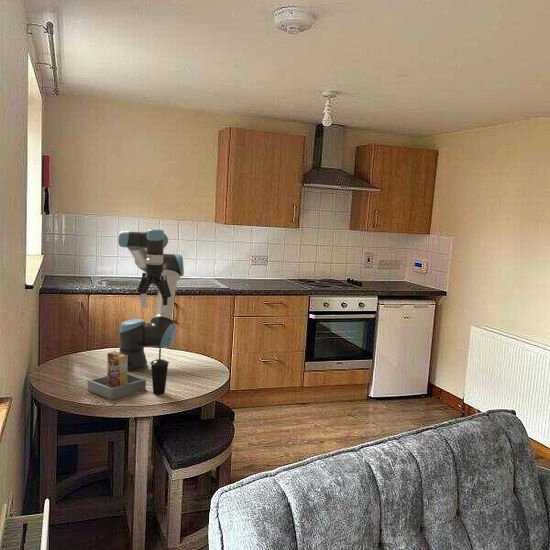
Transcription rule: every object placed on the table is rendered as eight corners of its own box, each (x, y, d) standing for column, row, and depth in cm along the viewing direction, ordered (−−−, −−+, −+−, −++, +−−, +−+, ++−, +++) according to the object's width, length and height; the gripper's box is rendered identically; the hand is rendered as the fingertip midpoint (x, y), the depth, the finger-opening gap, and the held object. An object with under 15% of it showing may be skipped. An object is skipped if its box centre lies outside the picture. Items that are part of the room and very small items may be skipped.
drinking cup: (151, 389, 235) (152, 345, 232) (168, 390, 235) (170, 345, 233) (148, 396, 227) (149, 350, 225) (166, 396, 228) (168, 350, 225)
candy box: (106, 386, 233) (106, 352, 231) (114, 384, 236) (115, 350, 234) (119, 391, 228) (120, 356, 226) (127, 389, 231) (128, 354, 229)
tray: (87, 390, 230) (87, 380, 229) (122, 381, 244) (122, 371, 244) (110, 399, 220) (111, 389, 220) (145, 389, 235) (145, 379, 234)
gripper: (130, 261, 247) (129, 306, 249) (167, 267, 232) (165, 315, 235) (143, 260, 253) (142, 304, 255) (180, 266, 238) (178, 313, 241)
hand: (153, 310), depth 245 cm, fingers open, 13 cm apart
